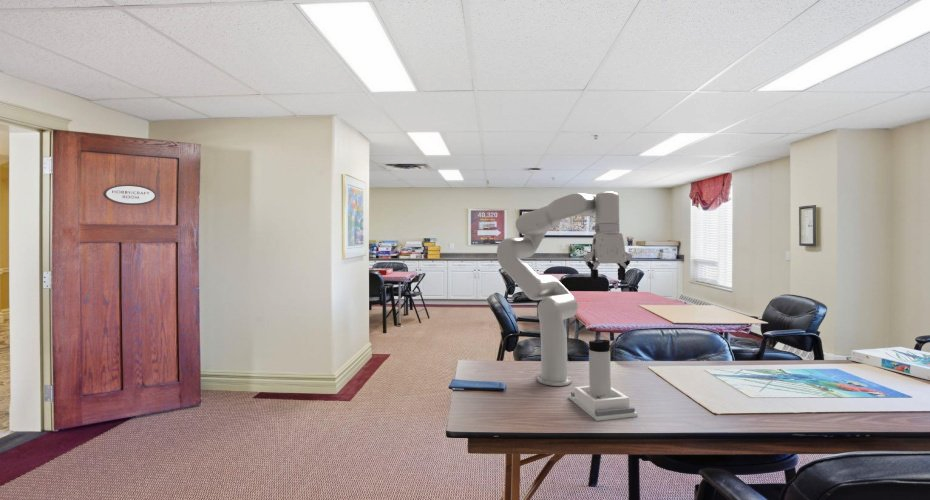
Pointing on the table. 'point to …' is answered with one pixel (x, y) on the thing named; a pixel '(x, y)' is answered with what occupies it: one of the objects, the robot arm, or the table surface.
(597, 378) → the travel mug
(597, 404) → the white rectangular tray
